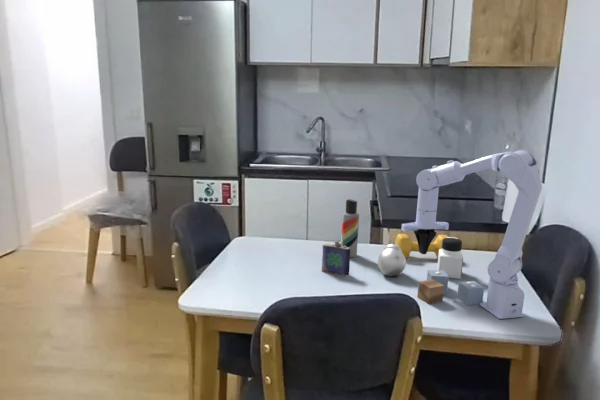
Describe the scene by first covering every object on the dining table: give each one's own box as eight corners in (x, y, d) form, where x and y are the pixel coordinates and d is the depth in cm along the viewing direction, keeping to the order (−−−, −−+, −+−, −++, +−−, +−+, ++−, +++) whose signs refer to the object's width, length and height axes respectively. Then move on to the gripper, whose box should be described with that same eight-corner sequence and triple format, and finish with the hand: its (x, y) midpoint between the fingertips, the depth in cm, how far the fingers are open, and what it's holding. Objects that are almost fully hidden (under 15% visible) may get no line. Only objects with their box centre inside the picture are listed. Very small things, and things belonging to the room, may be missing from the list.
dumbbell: (397, 261, 185) (399, 238, 183) (392, 252, 193) (394, 231, 192) (452, 262, 185) (454, 240, 183) (444, 254, 194) (447, 232, 192)
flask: (320, 271, 173) (322, 239, 170) (323, 268, 175) (325, 237, 173) (347, 276, 169) (349, 244, 167) (350, 273, 172) (352, 241, 169)
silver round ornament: (409, 273, 173) (412, 244, 171) (398, 282, 166) (400, 251, 163) (384, 267, 178) (386, 238, 176) (371, 275, 171) (373, 245, 168)
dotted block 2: (482, 304, 152) (484, 286, 151) (466, 305, 151) (468, 288, 150) (472, 296, 157) (474, 280, 156) (457, 298, 156) (458, 281, 155)
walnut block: (442, 301, 153) (444, 285, 152) (428, 304, 151) (430, 288, 150) (431, 295, 157) (432, 279, 156) (417, 297, 155) (418, 281, 154)
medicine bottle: (461, 279, 170) (465, 243, 167) (437, 277, 171) (441, 241, 169) (459, 271, 177) (463, 236, 174) (436, 269, 178) (440, 234, 175)
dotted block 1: (446, 292, 160) (448, 275, 159) (430, 291, 160) (431, 275, 159) (442, 285, 165) (444, 269, 164) (426, 285, 165) (427, 269, 164)
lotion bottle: (337, 253, 190) (340, 198, 185) (351, 251, 193) (354, 197, 188) (345, 258, 185) (348, 202, 180) (359, 256, 188) (363, 201, 183)
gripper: (441, 205, 164) (437, 247, 167) (398, 206, 160) (394, 250, 163) (454, 211, 157) (449, 255, 161) (409, 212, 154) (405, 257, 157)
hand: (422, 253), depth 161 cm, fingers closed
